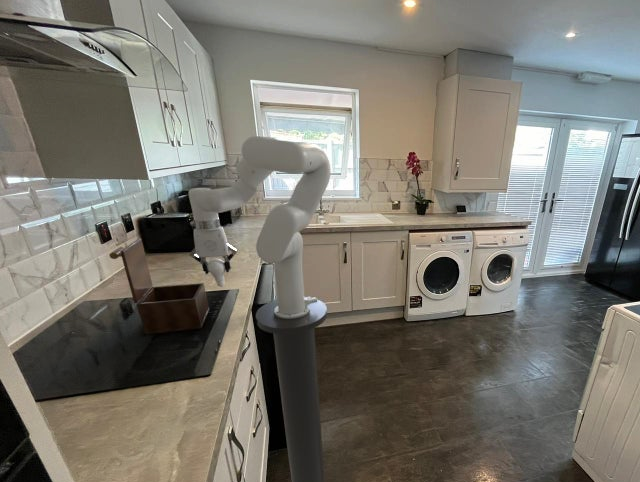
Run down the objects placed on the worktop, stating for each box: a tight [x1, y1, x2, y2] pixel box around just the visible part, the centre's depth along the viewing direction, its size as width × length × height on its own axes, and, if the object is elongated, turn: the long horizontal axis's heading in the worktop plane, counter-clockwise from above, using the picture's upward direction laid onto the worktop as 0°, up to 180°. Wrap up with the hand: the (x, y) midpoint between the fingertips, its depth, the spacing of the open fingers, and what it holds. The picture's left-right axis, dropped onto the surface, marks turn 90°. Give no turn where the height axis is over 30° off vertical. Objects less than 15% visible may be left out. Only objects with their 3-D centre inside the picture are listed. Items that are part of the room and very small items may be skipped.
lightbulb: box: [207, 258, 226, 288], centre depth 121 cm, size 6×6×11 cm
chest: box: [135, 282, 210, 336], centre depth 108 cm, size 16×14×11 cm
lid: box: [109, 238, 154, 304], centre depth 100 cm, size 16×14×5 cm
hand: (217, 271), depth 121 cm, fingers closed on lightbulb, 6 cm apart
